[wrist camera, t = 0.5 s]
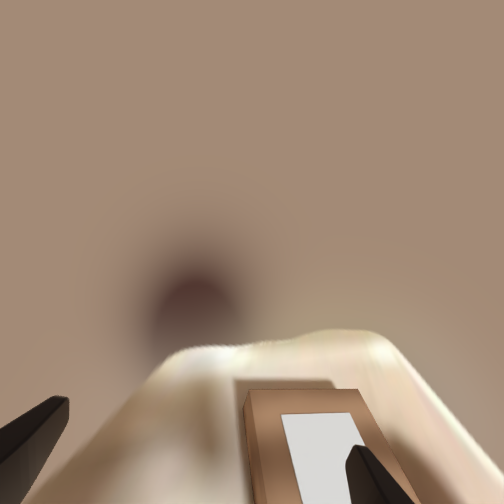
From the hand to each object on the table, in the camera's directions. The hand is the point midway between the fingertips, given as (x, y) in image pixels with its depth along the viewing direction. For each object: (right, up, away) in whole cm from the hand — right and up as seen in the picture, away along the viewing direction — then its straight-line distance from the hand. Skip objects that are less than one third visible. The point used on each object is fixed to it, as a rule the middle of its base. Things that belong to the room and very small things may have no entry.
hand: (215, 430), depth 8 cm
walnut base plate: (+7, -14, +14) cm, 21 cm away
